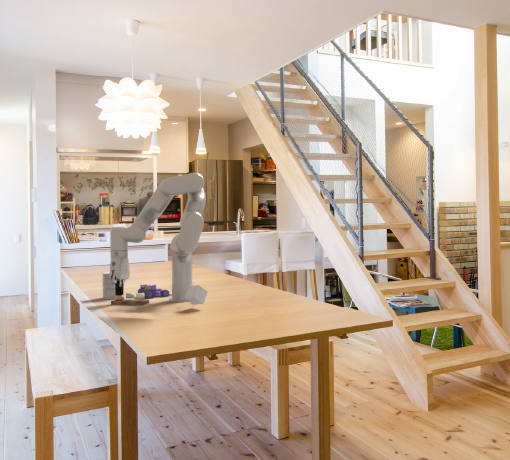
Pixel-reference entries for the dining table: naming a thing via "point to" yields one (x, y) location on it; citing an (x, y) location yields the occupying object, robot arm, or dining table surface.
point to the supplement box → (108, 287)
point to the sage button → (129, 295)
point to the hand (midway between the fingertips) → (119, 295)
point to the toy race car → (153, 291)
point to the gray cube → (196, 294)
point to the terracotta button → (119, 297)
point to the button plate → (129, 302)
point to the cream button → (140, 295)
